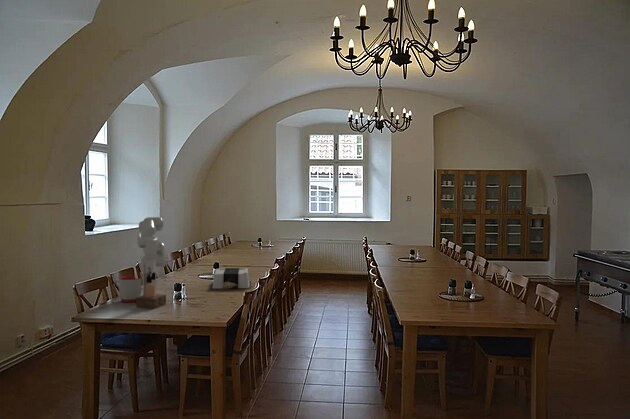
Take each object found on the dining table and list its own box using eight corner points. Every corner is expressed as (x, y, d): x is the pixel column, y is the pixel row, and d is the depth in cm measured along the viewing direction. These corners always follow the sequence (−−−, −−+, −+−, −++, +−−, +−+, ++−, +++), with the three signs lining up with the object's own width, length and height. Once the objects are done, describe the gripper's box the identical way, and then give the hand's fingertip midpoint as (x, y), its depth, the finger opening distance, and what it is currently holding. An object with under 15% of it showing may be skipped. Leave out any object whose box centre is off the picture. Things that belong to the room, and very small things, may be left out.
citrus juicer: (148, 299, 364) (148, 272, 363) (130, 304, 349) (130, 275, 348) (132, 297, 371) (132, 270, 370) (113, 301, 355) (113, 273, 354)
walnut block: (148, 303, 354) (148, 293, 353) (165, 304, 350) (165, 294, 350) (136, 307, 340) (136, 297, 340) (154, 309, 336) (154, 299, 336)
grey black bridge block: (250, 289, 405) (250, 274, 405) (209, 290, 401) (209, 274, 401) (251, 281, 440) (251, 267, 439) (212, 282, 436) (212, 267, 435)
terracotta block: (147, 295, 347) (147, 283, 347) (156, 295, 348) (156, 283, 348) (145, 297, 341) (145, 285, 341) (154, 297, 342) (154, 285, 342)
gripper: (148, 254, 352) (148, 278, 353) (141, 258, 335) (142, 283, 336) (159, 254, 353) (159, 278, 354) (153, 258, 335) (153, 283, 336)
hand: (151, 281), depth 345 cm, fingers open, 9 cm apart
